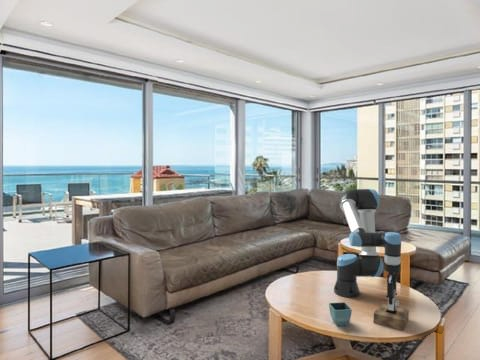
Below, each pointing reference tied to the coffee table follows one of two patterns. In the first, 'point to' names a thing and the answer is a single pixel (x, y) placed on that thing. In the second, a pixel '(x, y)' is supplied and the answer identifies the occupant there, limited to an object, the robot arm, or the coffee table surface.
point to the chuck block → (391, 316)
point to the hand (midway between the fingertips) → (391, 308)
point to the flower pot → (340, 313)
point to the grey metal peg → (394, 303)
